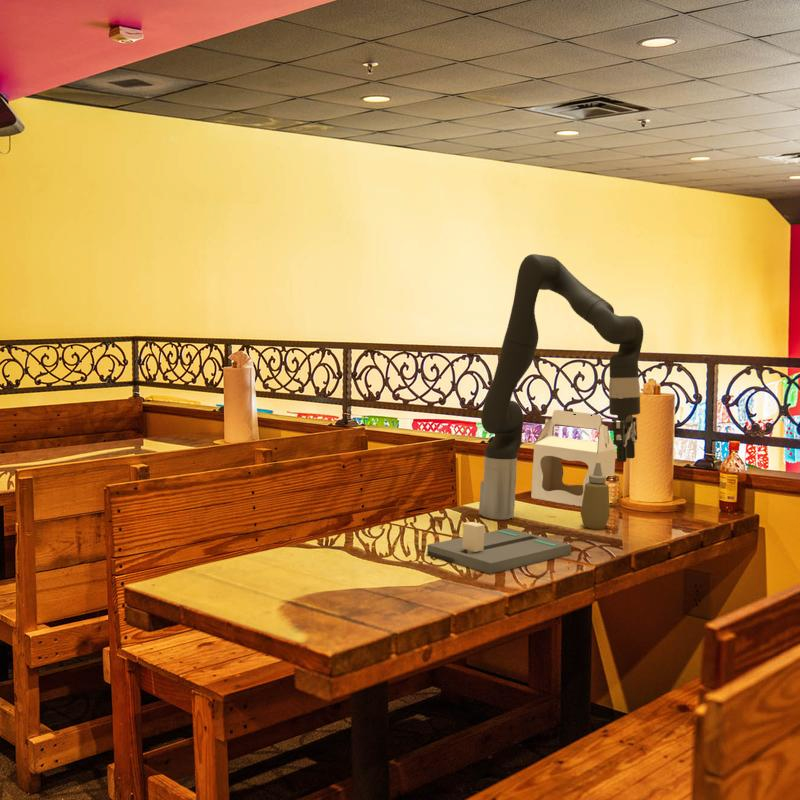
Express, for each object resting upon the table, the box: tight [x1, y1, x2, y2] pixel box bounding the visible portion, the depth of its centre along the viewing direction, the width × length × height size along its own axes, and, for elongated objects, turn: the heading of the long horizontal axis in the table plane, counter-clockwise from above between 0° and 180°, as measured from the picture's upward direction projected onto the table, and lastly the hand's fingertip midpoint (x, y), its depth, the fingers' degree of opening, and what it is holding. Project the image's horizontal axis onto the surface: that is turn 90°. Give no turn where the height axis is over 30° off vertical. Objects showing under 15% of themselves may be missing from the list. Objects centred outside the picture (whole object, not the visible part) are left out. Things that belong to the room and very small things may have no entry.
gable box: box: [530, 409, 617, 508], centre depth 304 cm, size 22×13×28 cm, turn 53°
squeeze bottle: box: [580, 463, 611, 530], centre depth 269 cm, size 8×8×18 cm
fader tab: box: [462, 521, 486, 554], centre depth 228 cm, size 4×3×7 cm
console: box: [426, 527, 572, 575], centre depth 236 cm, size 20×30×3 cm, turn 134°
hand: (626, 460), depth 245 cm, fingers open, 8 cm apart
